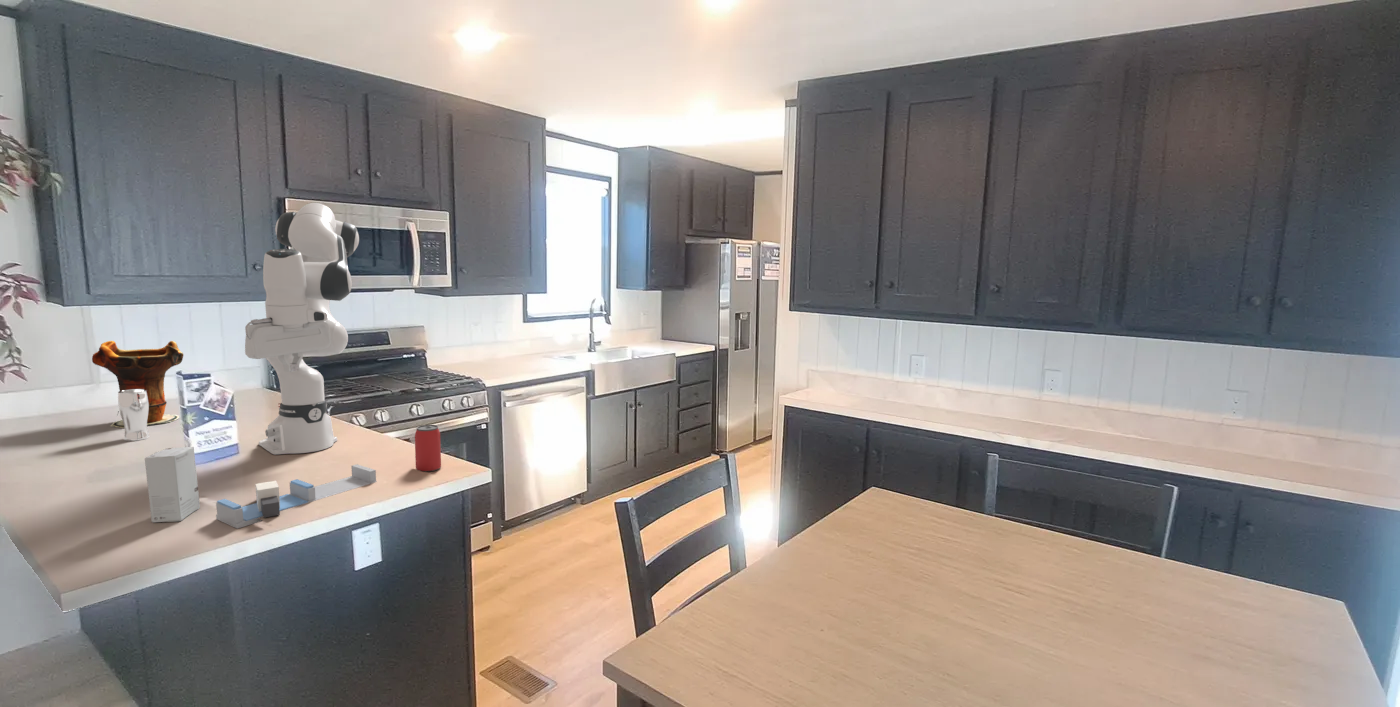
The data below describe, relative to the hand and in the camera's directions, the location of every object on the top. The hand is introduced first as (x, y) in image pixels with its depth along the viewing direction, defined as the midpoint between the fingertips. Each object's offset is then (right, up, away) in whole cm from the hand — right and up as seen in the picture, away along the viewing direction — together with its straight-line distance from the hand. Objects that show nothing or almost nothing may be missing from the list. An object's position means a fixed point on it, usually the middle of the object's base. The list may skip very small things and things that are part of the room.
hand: (291, 370), depth 161 cm
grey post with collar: (+3, -31, -13) cm, 33 cm away
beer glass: (-72, -22, +38) cm, 85 cm away
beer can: (+26, -28, +20) cm, 43 cm away
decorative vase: (-86, -19, +58) cm, 106 cm away
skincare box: (-16, -32, -16) cm, 39 cm away
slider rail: (+7, -31, -6) cm, 32 cm away
